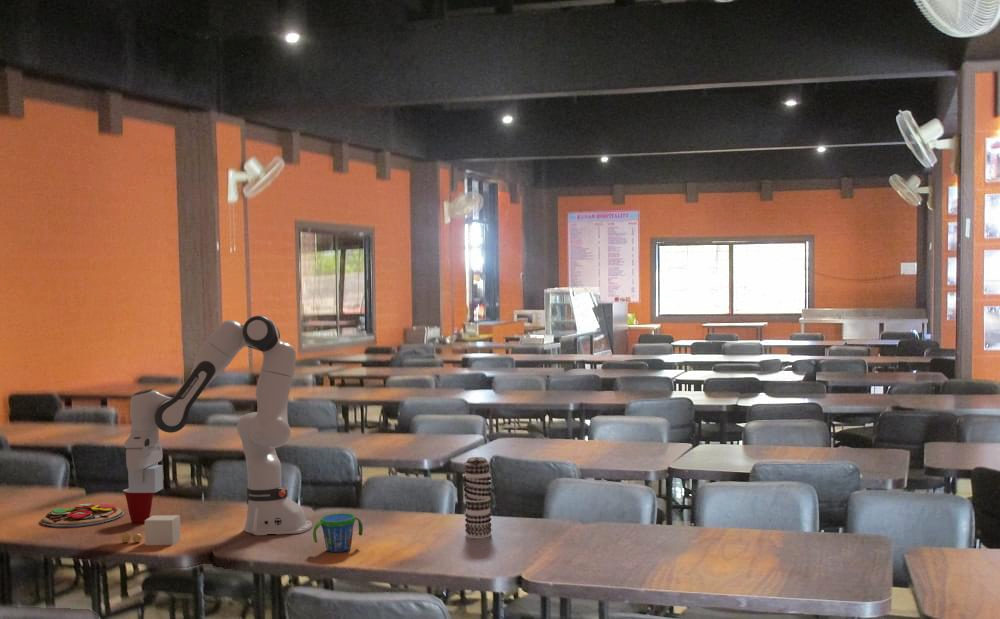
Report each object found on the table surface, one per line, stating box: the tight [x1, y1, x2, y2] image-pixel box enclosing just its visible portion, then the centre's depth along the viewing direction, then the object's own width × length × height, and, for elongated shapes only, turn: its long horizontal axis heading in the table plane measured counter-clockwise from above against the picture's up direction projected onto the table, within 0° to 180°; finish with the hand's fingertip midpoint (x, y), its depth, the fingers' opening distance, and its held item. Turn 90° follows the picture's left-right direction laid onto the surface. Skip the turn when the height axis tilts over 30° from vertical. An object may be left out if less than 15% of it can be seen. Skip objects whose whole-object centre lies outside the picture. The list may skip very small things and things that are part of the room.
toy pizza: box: [40, 503, 125, 528], centre depth 352 cm, size 28×28×4 cm
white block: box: [127, 464, 164, 494], centre depth 326 cm, size 9×6×8 cm
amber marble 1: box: [120, 532, 132, 544], centre depth 317 cm, size 3×3×3 cm
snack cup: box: [312, 512, 364, 553], centre depth 303 cm, size 16×10×10 cm
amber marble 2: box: [131, 532, 143, 543], centre depth 316 cm, size 3×3×3 cm
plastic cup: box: [122, 488, 155, 525], centre depth 344 cm, size 11×11×12 cm
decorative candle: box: [462, 456, 492, 539], centre depth 317 cm, size 9×9×25 cm
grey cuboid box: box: [144, 514, 182, 546], centre depth 316 cm, size 9×6×8 cm
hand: (146, 479), depth 326 cm, fingers closed on white block, 6 cm apart
